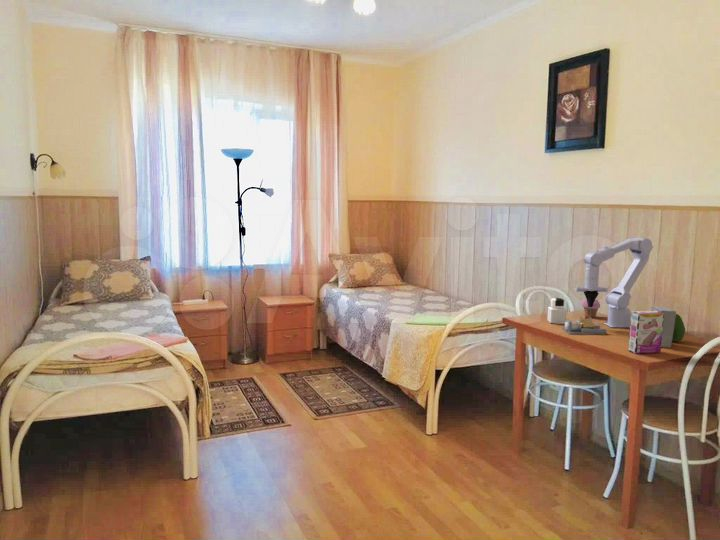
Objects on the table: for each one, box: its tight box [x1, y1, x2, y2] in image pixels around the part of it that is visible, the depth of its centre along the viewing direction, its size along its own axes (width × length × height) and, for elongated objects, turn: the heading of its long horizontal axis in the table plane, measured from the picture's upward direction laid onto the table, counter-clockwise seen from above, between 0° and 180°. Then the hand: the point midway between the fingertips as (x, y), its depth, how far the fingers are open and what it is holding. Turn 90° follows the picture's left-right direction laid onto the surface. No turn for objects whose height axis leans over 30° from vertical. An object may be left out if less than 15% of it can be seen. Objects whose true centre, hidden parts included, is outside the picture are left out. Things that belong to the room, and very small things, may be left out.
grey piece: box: [561, 318, 608, 335], centre depth 250 cm, size 17×10×5 cm, turn 90°
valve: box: [579, 314, 596, 329], centre depth 250 cm, size 7×4×7 cm, turn 90°
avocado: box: [672, 313, 686, 343], centre depth 233 cm, size 8×8×12 cm
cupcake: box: [581, 298, 601, 318], centre depth 281 cm, size 9×9×10 cm
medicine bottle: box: [546, 297, 567, 325], centre depth 268 cm, size 7×7×12 cm
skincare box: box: [650, 305, 677, 348], centre depth 227 cm, size 8×7×16 cm
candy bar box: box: [628, 310, 664, 355], centre depth 216 cm, size 11×5×16 cm, turn 99°
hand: (590, 306), depth 258 cm, fingers closed
